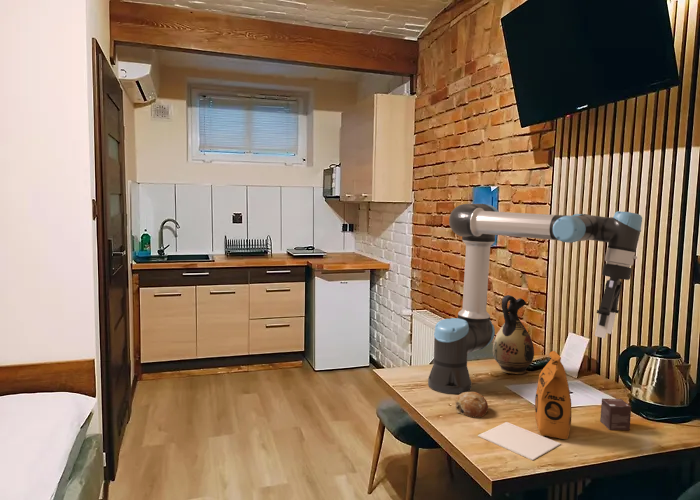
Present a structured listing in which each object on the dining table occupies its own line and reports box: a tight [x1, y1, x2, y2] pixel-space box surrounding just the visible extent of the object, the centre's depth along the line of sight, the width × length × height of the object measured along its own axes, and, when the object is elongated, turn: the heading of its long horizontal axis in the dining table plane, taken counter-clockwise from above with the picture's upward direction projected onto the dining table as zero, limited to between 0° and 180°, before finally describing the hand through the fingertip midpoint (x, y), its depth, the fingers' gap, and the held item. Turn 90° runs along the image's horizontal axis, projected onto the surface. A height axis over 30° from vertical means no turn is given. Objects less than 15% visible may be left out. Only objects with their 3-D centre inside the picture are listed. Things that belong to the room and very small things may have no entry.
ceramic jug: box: [492, 295, 535, 375], centre depth 198 cm, size 17×15×30 cm
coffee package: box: [534, 350, 573, 440], centre depth 147 cm, size 10×12×22 cm
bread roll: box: [455, 391, 489, 418], centre depth 161 cm, size 10×10×8 cm
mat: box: [477, 421, 561, 461], centre depth 142 cm, size 17×14×1 cm
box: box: [599, 398, 632, 431], centre depth 152 cm, size 6×6×7 cm
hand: (603, 335), depth 152 cm, fingers open, 13 cm apart
